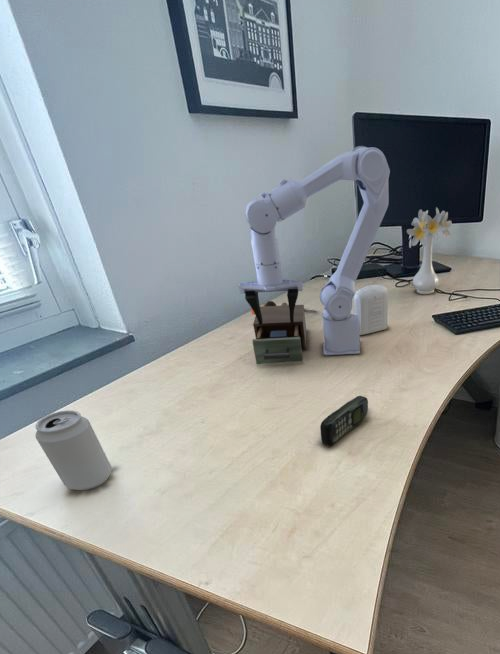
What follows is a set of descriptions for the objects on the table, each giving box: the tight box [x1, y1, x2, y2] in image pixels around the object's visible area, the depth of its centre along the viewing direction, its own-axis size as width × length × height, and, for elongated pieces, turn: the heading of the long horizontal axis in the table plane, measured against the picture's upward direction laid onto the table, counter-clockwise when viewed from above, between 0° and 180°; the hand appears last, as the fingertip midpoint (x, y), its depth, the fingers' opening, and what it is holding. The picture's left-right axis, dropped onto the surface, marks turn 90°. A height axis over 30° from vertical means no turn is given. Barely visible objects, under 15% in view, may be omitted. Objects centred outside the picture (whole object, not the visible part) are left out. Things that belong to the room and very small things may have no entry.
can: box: [34, 409, 113, 491], centre depth 71 cm, size 8×8×12 cm
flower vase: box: [406, 206, 453, 295], centre depth 145 cm, size 13×18×25 cm
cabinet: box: [252, 304, 308, 351], centre depth 118 cm, size 14×13×8 cm
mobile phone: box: [319, 395, 369, 447], centre depth 84 cm, size 5×3×15 cm
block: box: [270, 330, 288, 338], centre depth 110 cm, size 4×4×4 cm
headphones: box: [250, 300, 317, 316], centre depth 133 cm, size 17×5×20 cm
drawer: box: [251, 325, 304, 365], centre depth 109 cm, size 17×11×6 cm
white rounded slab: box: [352, 284, 389, 336], centre depth 122 cm, size 10×4×12 cm, turn 123°
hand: (276, 322), depth 107 cm, fingers open, 7 cm apart
